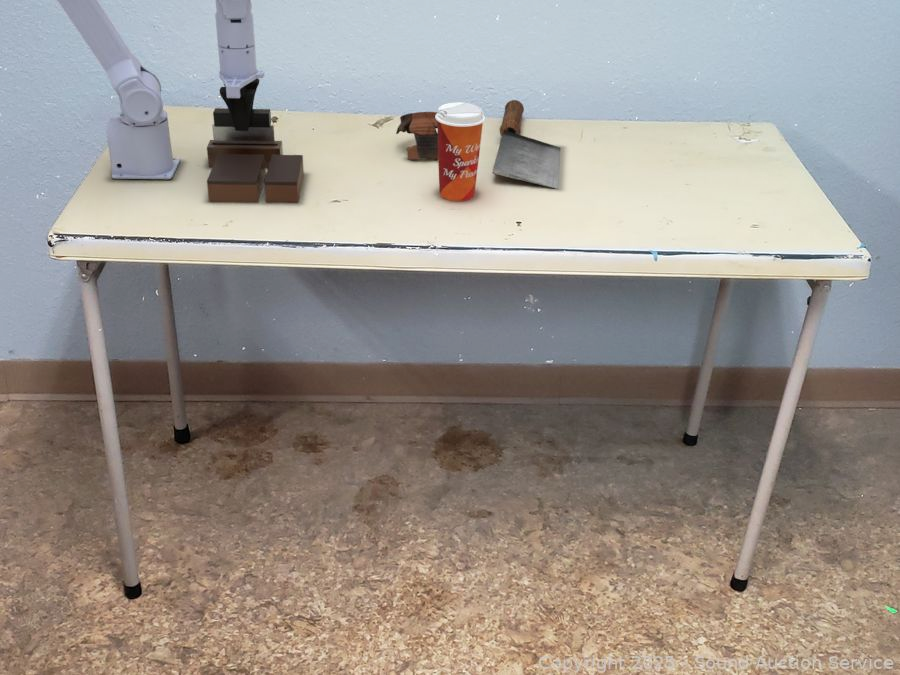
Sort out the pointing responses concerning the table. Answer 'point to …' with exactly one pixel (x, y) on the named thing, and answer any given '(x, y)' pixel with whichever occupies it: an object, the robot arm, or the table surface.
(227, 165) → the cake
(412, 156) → the brown irregular chunky piece
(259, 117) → the bench scraper
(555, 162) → the meat cleaver
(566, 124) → the table surface
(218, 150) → the knife block
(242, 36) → the robot arm
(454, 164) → the paper cup
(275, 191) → the brown rectangular block
